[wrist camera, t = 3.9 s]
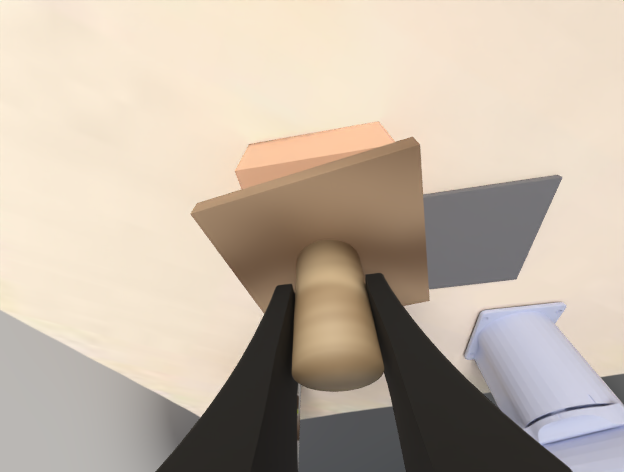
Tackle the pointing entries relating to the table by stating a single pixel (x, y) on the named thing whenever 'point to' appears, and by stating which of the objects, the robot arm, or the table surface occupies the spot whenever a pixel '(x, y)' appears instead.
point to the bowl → (306, 152)
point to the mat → (484, 230)
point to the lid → (329, 253)
